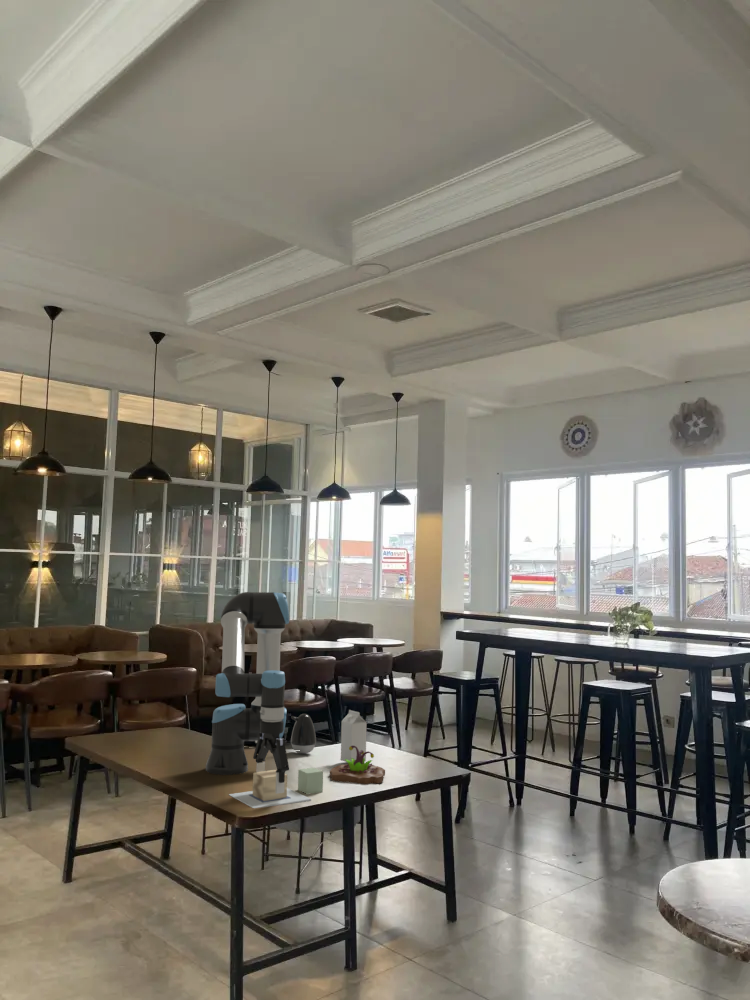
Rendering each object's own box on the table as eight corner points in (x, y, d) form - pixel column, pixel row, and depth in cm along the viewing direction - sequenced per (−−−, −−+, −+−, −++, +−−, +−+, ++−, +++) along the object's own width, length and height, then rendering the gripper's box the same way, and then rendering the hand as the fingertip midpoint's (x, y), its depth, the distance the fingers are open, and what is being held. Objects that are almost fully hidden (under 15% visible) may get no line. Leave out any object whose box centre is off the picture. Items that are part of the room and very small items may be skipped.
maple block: (252, 795, 258) (253, 772, 259) (274, 791, 263) (275, 769, 264) (263, 800, 252) (264, 777, 252) (286, 797, 256) (287, 774, 257)
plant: (334, 769, 301) (335, 739, 302) (386, 772, 299) (387, 741, 300) (325, 783, 281) (326, 750, 282) (381, 785, 279) (382, 752, 280)
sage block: (297, 791, 269) (298, 769, 269) (313, 788, 272) (314, 767, 273) (306, 795, 264) (307, 773, 264) (322, 793, 267) (323, 771, 268)
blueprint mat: (228, 797, 259) (228, 793, 259) (284, 789, 270) (284, 786, 270) (253, 811, 244) (253, 807, 244) (310, 802, 255) (311, 798, 255)
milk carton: (355, 758, 319) (356, 709, 321) (365, 761, 313) (366, 711, 315) (340, 760, 315) (341, 710, 317) (350, 764, 309) (351, 713, 311)
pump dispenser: (289, 749, 333) (290, 711, 335) (314, 749, 334) (315, 711, 336) (290, 754, 323) (291, 716, 325) (316, 754, 324) (317, 715, 326)
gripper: (244, 714, 268) (242, 780, 266) (279, 727, 247) (277, 798, 245) (265, 713, 272) (262, 777, 270) (301, 725, 251) (299, 795, 249)
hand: (269, 788), depth 258 cm, fingers open, 13 cm apart
